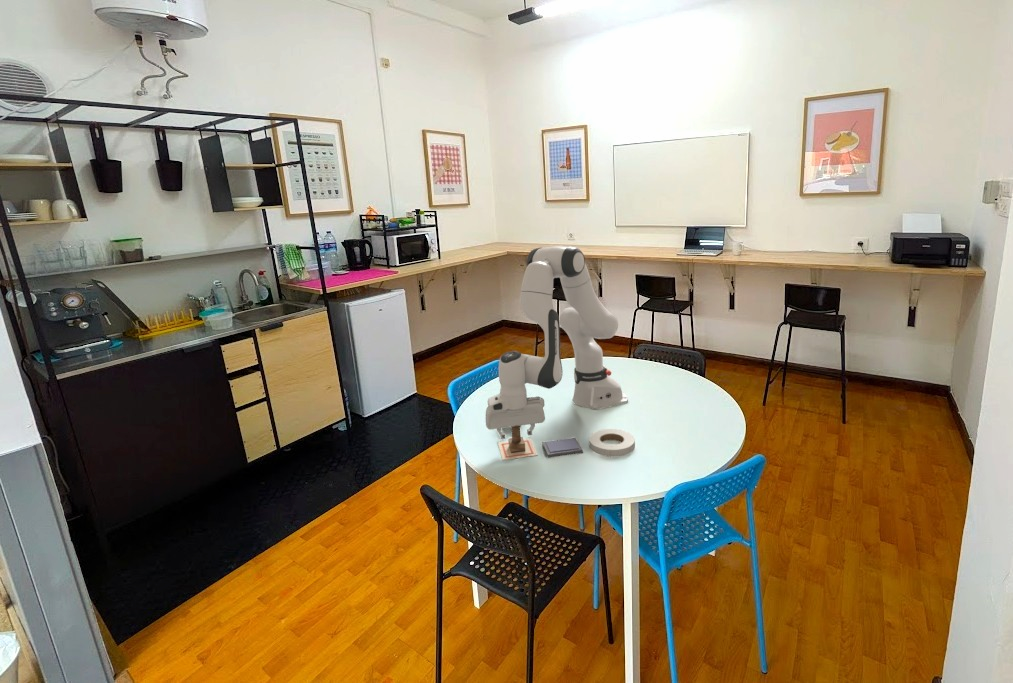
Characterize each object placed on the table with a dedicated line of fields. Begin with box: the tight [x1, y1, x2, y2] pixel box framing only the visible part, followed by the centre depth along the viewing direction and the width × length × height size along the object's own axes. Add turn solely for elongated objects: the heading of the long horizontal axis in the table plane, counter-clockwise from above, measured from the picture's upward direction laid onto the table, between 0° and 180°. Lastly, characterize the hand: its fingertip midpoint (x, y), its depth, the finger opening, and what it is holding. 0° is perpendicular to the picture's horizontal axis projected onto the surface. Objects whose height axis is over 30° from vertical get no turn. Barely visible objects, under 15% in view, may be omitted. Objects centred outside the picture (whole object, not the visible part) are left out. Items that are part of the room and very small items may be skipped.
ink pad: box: [541, 437, 584, 459], centre depth 176 cm, size 12×9×2 cm
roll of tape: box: [588, 428, 636, 458], centre depth 176 cm, size 16×15×3 cm
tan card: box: [497, 438, 539, 461], centre depth 178 cm, size 12×12×1 cm
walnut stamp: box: [507, 425, 525, 453], centre depth 176 cm, size 5×5×11 cm
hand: (516, 436), depth 176 cm, fingers open, 8 cm apart
